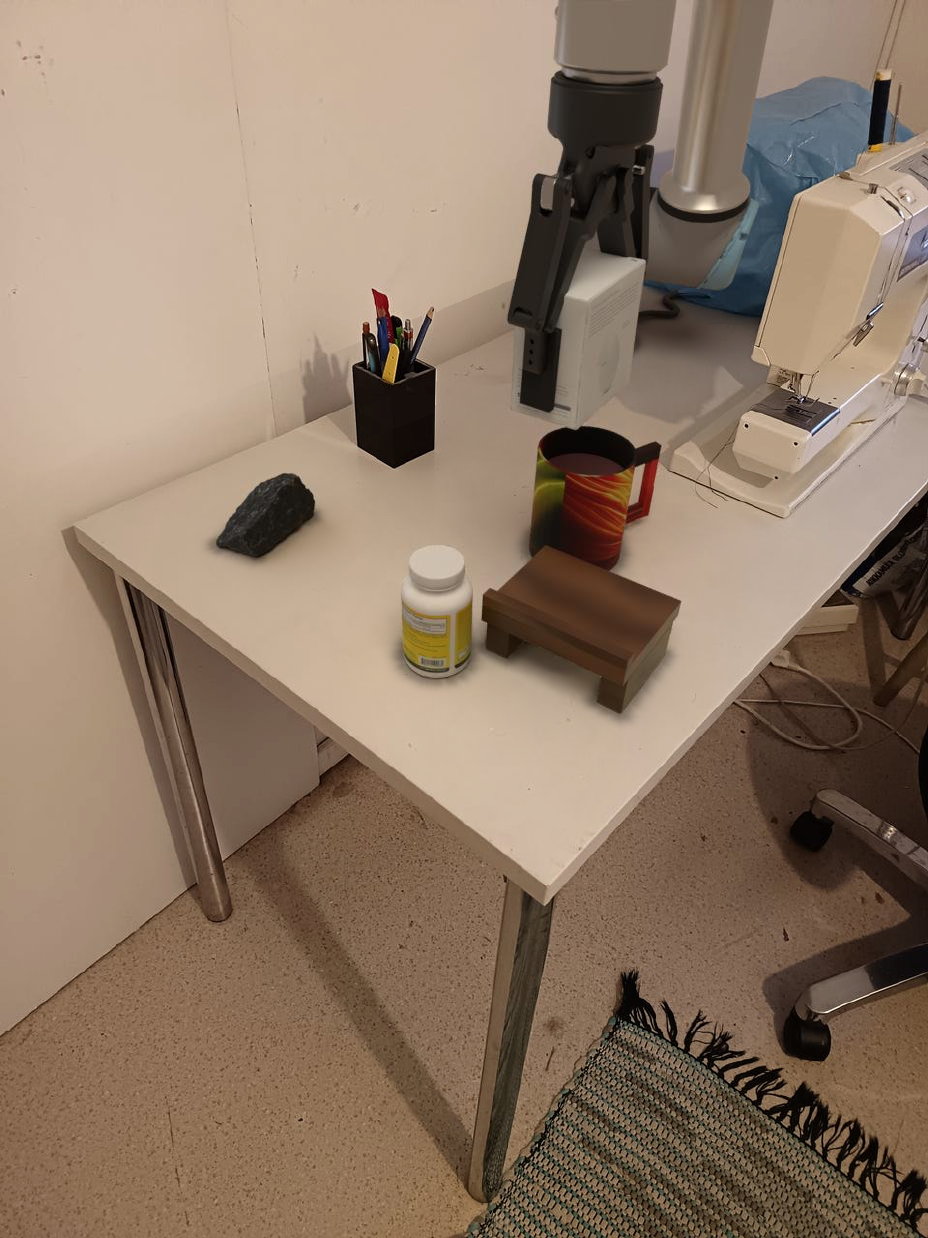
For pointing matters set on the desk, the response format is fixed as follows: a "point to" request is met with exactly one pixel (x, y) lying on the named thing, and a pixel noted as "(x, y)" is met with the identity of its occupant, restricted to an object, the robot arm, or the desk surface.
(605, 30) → the robot arm
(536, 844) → the desk surface
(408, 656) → the pill bottle
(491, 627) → the shelf
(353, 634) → the desk surface
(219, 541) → the rock
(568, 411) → the cosmetics box
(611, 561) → the mug
